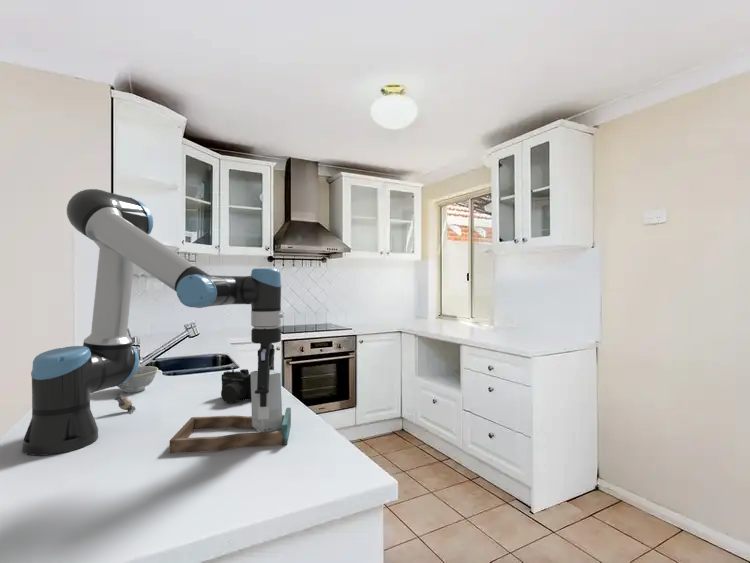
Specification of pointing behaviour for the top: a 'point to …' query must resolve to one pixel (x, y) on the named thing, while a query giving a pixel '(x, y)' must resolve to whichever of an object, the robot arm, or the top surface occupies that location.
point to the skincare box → (274, 403)
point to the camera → (236, 386)
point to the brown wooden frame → (203, 444)
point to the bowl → (139, 379)
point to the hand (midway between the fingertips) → (266, 412)
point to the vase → (125, 403)
